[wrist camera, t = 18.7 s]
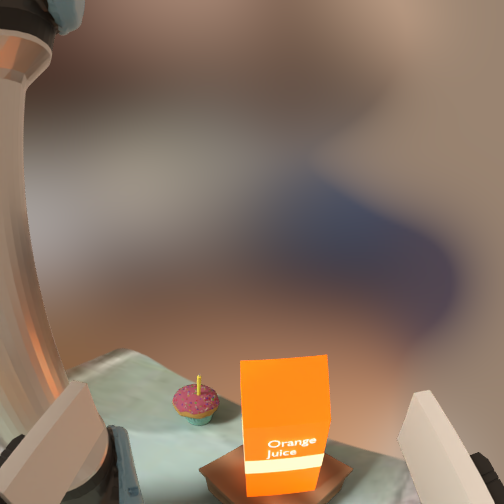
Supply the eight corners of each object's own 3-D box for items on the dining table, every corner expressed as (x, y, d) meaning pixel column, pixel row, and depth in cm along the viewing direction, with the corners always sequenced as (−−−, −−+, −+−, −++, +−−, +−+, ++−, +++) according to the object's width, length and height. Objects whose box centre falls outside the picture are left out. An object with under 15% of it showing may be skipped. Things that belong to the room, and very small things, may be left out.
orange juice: (243, 455, 37) (238, 341, 32) (305, 450, 38) (318, 336, 33) (246, 498, 30) (240, 385, 25) (315, 491, 30) (340, 377, 25)
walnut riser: (273, 550, 25) (275, 536, 23) (203, 489, 36) (198, 469, 34) (345, 489, 34) (353, 468, 33) (275, 445, 45) (276, 423, 44)
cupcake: (229, 415, 54) (226, 366, 51) (200, 439, 47) (191, 390, 44) (197, 398, 58) (190, 350, 55) (167, 418, 52) (156, 370, 49)
